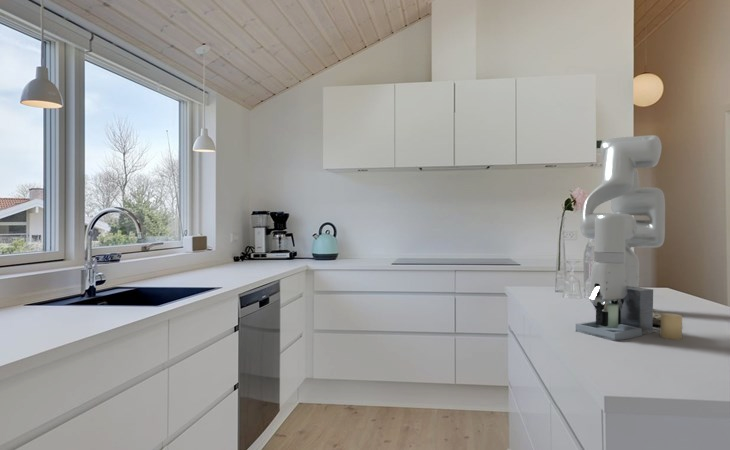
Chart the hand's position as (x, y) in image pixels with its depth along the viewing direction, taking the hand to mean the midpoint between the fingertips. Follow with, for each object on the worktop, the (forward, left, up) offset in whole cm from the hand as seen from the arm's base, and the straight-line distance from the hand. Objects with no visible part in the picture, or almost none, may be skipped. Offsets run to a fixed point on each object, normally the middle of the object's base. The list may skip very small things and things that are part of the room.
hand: (608, 323), depth 127 cm
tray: (0, 0, -3) cm, 3 cm away
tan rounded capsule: (-12, +10, -3) cm, 16 cm away
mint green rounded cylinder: (0, 0, -1) cm, 1 cm away
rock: (-23, -1, -3) cm, 23 cm away
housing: (-10, -2, -3) cm, 11 cm away
